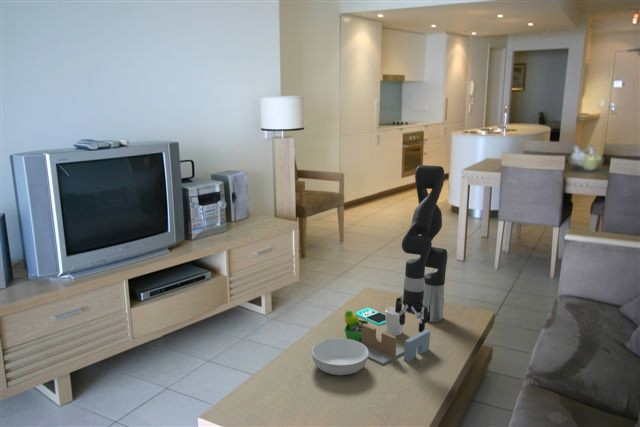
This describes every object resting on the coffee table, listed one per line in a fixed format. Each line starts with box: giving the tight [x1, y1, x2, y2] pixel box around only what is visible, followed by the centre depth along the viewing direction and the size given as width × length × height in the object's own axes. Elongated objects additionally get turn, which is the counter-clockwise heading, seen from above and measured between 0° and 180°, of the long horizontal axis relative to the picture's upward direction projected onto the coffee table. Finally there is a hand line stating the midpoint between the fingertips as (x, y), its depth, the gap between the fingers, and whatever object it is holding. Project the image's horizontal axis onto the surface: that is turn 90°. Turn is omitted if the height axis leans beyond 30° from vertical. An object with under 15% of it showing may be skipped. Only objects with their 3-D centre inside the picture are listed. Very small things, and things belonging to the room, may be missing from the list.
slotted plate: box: [403, 329, 431, 362], centre depth 202 cm, size 14×2×8 cm, turn 135°
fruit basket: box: [343, 309, 369, 343], centre depth 216 cm, size 11×9×11 cm
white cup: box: [384, 306, 404, 337], centre depth 221 cm, size 8×8×10 cm
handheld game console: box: [355, 307, 386, 326], centre depth 237 cm, size 10×16×1 cm, turn 41°
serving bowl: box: [311, 337, 369, 376], centre depth 192 cm, size 21×21×7 cm
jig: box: [360, 324, 404, 366], centre depth 204 cm, size 14×16×9 cm
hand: (411, 327), depth 197 cm, fingers open, 8 cm apart
